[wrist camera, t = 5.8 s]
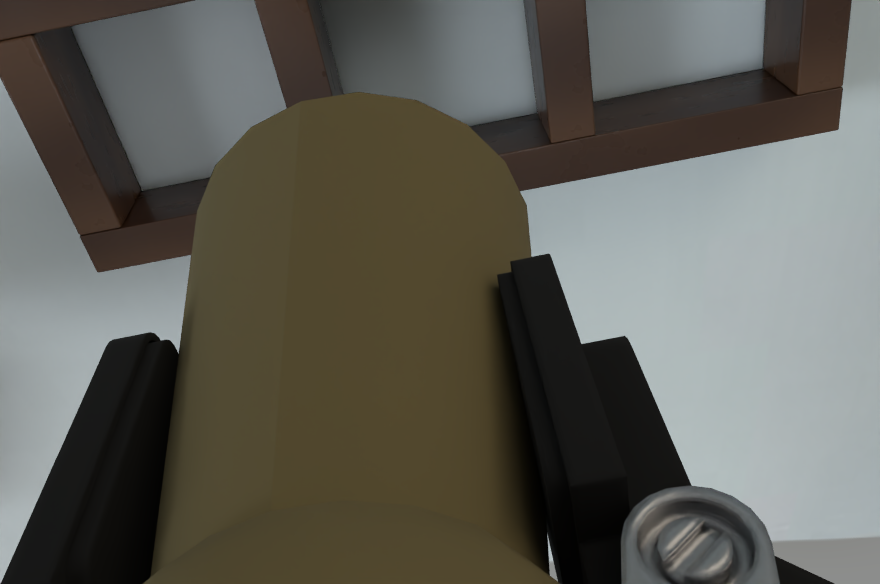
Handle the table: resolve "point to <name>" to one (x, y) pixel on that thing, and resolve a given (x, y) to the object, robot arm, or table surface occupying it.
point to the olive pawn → (352, 361)
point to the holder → (515, 140)
